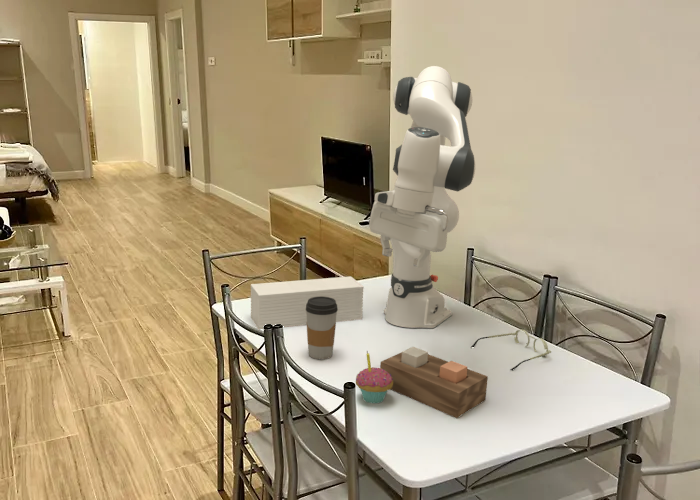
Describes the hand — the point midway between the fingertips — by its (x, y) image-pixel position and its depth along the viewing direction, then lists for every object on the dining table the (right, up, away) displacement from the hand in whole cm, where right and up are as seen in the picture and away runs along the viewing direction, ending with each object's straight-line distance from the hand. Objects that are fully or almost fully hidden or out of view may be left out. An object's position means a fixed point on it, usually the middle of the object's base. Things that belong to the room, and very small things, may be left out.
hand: (401, 261), depth 148 cm
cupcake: (-6, -32, +1) cm, 32 cm away
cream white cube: (+3, -26, +8) cm, 27 cm away
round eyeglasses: (+32, -26, +29) cm, 50 cm away
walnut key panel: (+7, -31, +5) cm, 32 cm away
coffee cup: (-20, -25, +24) cm, 40 cm away
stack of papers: (-25, -19, +50) cm, 59 cm away
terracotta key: (+12, -28, +1) cm, 30 cm away
